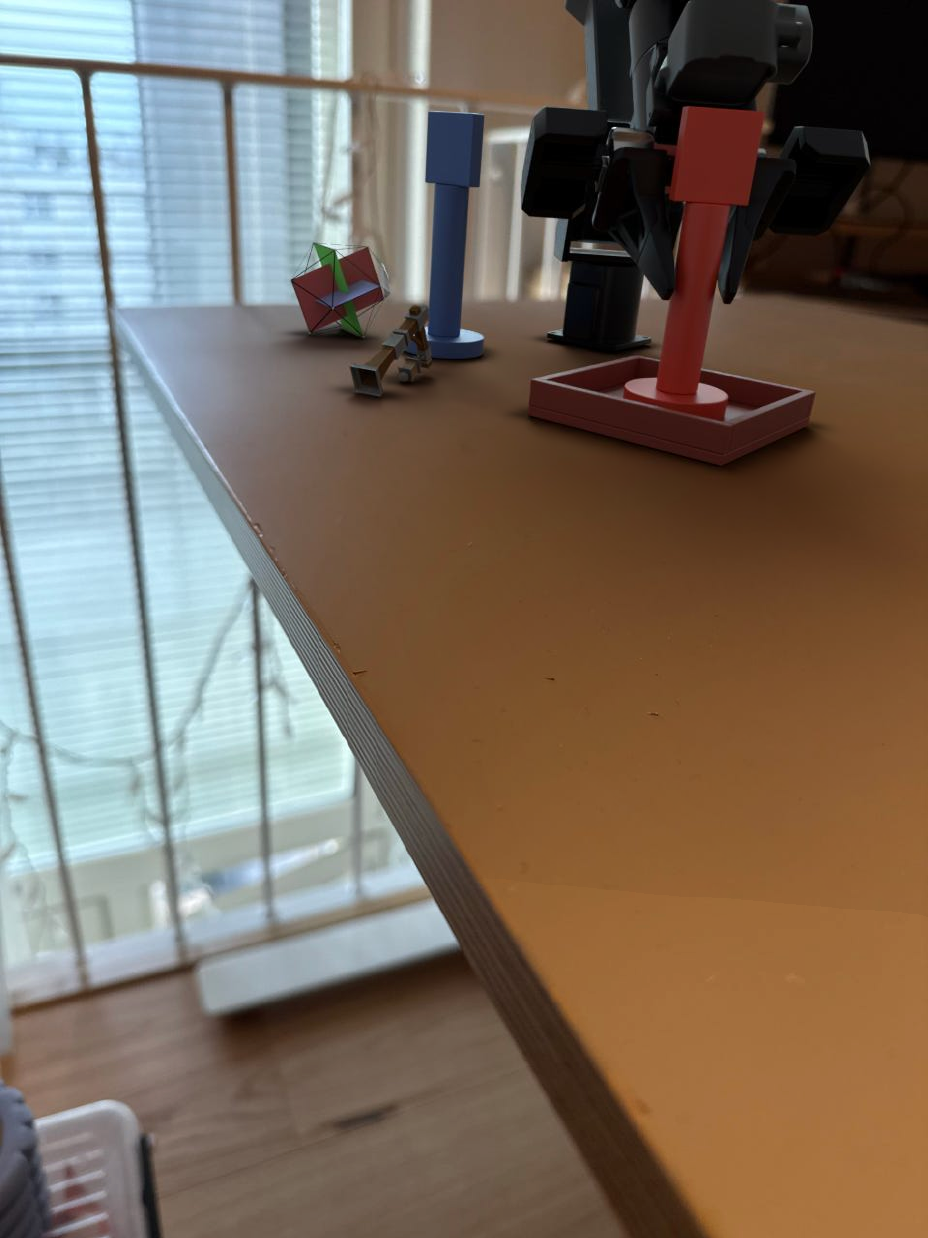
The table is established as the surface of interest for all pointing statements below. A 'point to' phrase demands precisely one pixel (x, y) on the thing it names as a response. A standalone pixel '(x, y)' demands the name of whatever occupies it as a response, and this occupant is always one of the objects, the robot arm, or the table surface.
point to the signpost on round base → (700, 251)
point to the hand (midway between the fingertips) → (699, 297)
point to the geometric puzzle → (339, 289)
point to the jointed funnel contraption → (396, 354)
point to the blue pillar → (451, 228)
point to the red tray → (602, 409)
